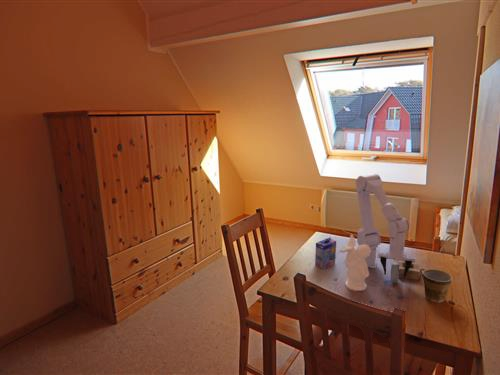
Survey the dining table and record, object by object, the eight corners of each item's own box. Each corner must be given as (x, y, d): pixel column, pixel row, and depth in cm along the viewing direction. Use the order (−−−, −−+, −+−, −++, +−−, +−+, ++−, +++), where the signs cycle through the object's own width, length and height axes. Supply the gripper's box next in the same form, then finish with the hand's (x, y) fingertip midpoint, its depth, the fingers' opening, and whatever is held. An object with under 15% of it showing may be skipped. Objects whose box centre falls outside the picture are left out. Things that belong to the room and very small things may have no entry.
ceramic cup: (455, 302, 123) (458, 278, 121) (434, 307, 120) (437, 283, 118) (428, 285, 135) (430, 264, 133) (409, 289, 132) (411, 267, 130)
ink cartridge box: (323, 269, 151) (324, 241, 148) (314, 265, 156) (314, 238, 152) (336, 263, 157) (337, 236, 154) (327, 259, 162) (327, 233, 158)
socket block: (396, 276, 143) (397, 268, 142) (396, 267, 151) (397, 259, 150) (419, 280, 140) (419, 271, 139) (417, 270, 148) (418, 262, 147)
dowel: (390, 282, 139) (391, 265, 137) (390, 278, 142) (391, 262, 140) (398, 283, 138) (399, 266, 136) (398, 279, 140) (399, 263, 139)
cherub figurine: (372, 291, 132) (375, 242, 127) (344, 295, 130) (347, 246, 125) (356, 277, 144) (359, 231, 138) (331, 280, 141) (333, 234, 136)
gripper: (378, 247, 135) (376, 276, 138) (416, 252, 129) (413, 282, 133) (378, 241, 142) (377, 268, 145) (415, 245, 136) (412, 274, 139)
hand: (394, 274), depth 139 cm, fingers open, 7 cm apart
